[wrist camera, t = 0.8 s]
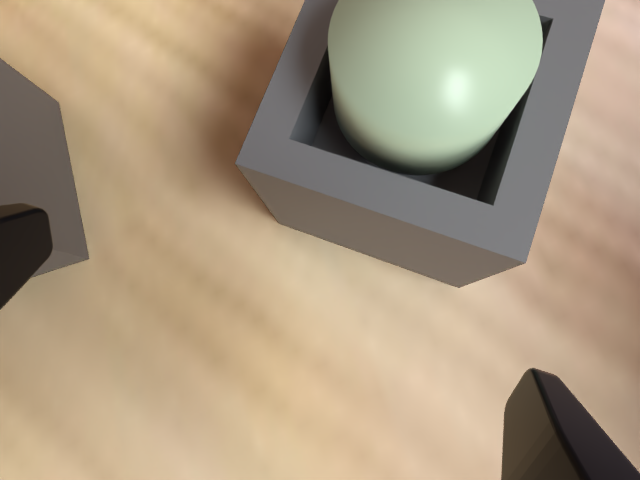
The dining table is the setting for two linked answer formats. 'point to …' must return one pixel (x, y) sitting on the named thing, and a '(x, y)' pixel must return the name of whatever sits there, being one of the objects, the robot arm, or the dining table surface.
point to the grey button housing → (415, 190)
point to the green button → (429, 76)
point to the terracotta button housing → (39, 164)
